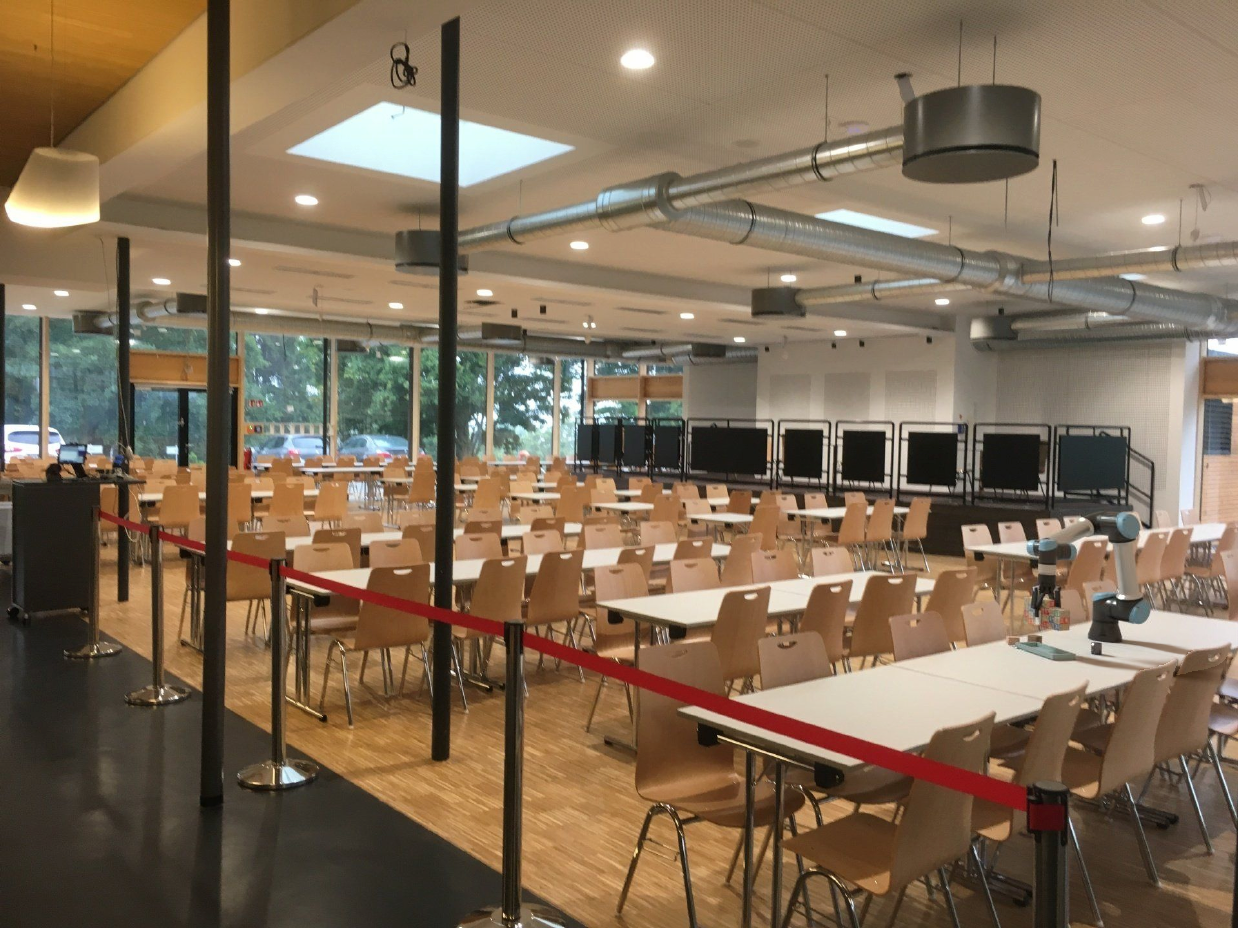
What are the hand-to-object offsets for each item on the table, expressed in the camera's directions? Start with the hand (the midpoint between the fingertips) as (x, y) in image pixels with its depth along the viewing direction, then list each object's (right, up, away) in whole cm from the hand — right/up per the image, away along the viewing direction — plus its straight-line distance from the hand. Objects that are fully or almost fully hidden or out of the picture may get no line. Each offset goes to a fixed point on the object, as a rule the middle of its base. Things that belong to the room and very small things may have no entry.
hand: (1045, 624), depth 443 cm
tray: (0, -13, 0) cm, 13 cm away
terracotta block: (-7, -13, +18) cm, 23 cm away
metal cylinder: (+24, -14, +2) cm, 28 cm away
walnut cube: (+4, -13, +20) cm, 24 cm away
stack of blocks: (0, -1, 0) cm, 1 cm away
